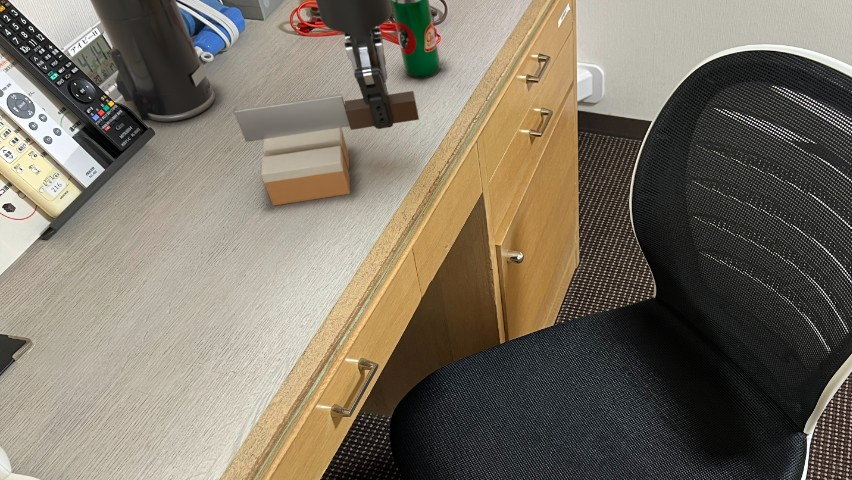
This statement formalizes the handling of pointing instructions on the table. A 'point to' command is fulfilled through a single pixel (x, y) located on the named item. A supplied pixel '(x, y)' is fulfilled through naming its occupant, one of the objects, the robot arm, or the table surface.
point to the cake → (306, 143)
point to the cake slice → (305, 175)
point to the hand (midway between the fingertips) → (383, 119)
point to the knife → (318, 115)
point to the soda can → (416, 37)
